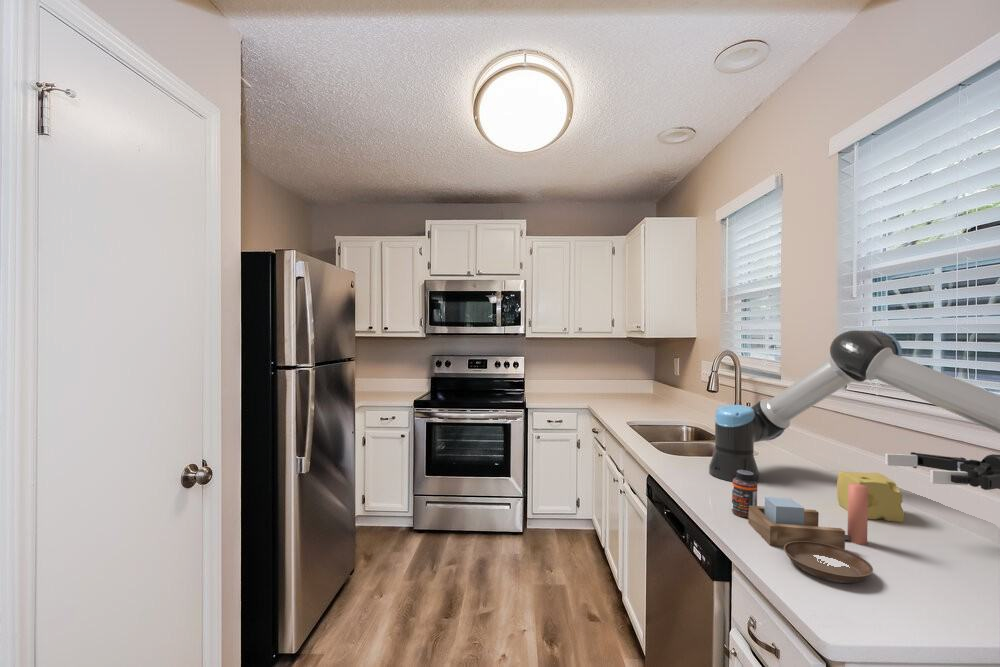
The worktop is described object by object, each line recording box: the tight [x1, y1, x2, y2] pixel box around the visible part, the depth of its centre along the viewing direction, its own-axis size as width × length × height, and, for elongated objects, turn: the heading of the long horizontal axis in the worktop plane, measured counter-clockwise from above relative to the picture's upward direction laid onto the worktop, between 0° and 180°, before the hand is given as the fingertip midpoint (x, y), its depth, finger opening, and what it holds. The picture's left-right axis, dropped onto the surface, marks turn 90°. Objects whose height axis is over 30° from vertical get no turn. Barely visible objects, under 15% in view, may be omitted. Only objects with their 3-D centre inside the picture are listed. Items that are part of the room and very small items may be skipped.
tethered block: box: [764, 483, 869, 546], centre depth 105 cm, size 21×6×13 cm, turn 82°
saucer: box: [783, 541, 874, 584], centre depth 92 cm, size 15×15×3 cm
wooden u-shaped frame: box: [747, 505, 846, 550], centre depth 106 cm, size 16×12×4 cm
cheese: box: [836, 470, 905, 523], centre depth 121 cm, size 10×11×10 cm
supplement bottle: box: [731, 470, 758, 519], centre depth 119 cm, size 6×6×11 cm
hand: (907, 467), depth 102 cm, fingers open, 13 cm apart
